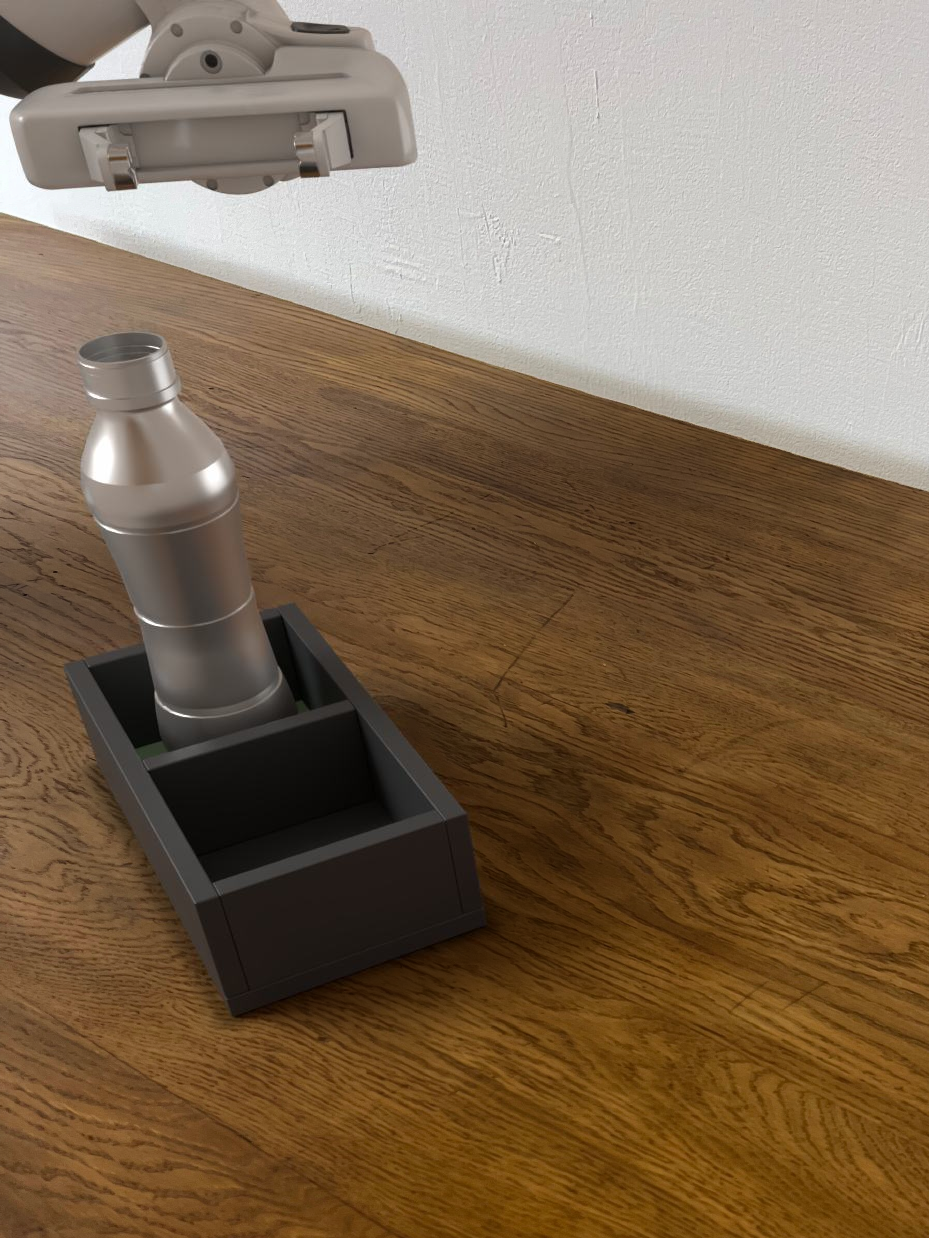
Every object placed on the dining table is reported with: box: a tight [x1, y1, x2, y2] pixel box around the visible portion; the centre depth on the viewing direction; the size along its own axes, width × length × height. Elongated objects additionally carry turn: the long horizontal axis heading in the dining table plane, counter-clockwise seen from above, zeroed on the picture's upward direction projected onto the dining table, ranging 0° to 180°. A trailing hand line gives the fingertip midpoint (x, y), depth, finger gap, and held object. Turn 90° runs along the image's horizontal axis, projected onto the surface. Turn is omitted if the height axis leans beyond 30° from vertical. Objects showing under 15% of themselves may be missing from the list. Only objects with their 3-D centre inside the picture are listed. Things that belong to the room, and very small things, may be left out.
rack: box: [62, 602, 487, 1018], centre depth 73 cm, size 12×22×6 cm, turn 31°
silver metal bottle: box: [75, 331, 298, 752], centre depth 70 cm, size 6×7×20 cm
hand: (215, 166), depth 78 cm, fingers open, 8 cm apart
